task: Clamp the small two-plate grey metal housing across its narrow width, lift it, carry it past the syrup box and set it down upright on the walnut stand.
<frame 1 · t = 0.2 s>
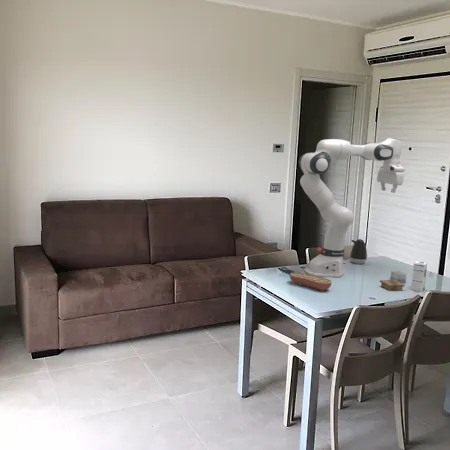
hand: (388, 191, 285), 47 cm above the table, tool pointing down, fingers open, 8 cm apart
black kettle: (357, 263, 312), on the table
bread loaf: (310, 287, 257), on the table
stand: (391, 288, 261), on the table
syrup box: (417, 289, 262), on the table
housing: (397, 281, 275), on the table
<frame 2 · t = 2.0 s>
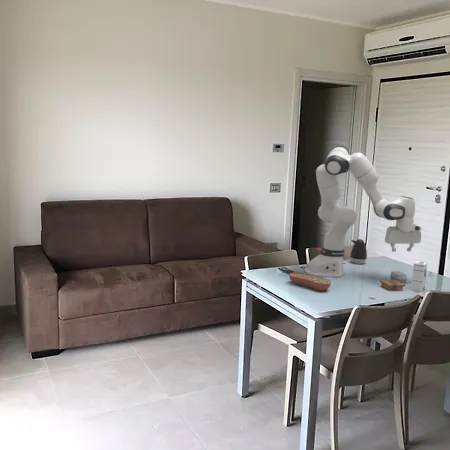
hand: (401, 251, 271), 17 cm above the table, tool pointing down, fingers open, 8 cm apart
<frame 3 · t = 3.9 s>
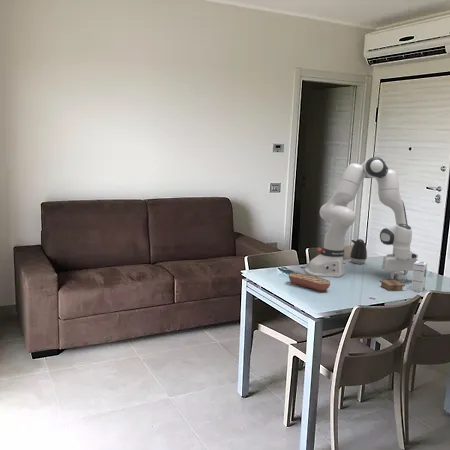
hand: (398, 278, 274), 2 cm above the table, tool pointing down, fingers closed on housing, 5 cm apart
housing: (397, 281, 274), on the table, touching gripper
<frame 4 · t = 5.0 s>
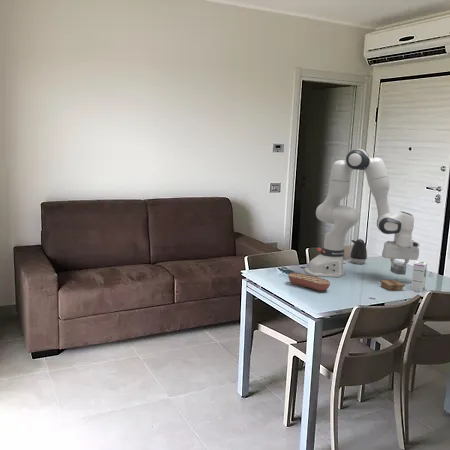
hand: (398, 266, 272), 9 cm above the table, tool pointing down, fingers closed on housing, 5 cm apart
housing: (397, 273, 272), point 5 cm above the table, touching gripper
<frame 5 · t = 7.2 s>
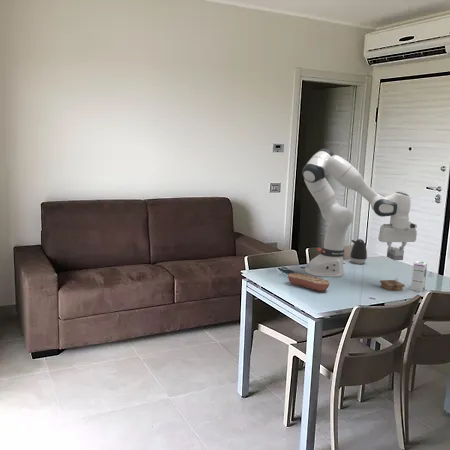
hand: (395, 250, 258), 20 cm above the table, tool pointing down, fingers closed on housing, 5 cm apart
housing: (394, 258, 259), point 16 cm above the table, touching gripper
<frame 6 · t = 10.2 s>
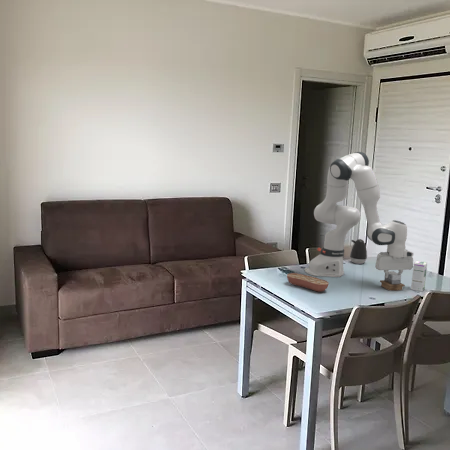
hand: (392, 277, 260), 6 cm above the table, tool pointing down, fingers closed on housing, 5 cm apart
housing: (392, 282, 261), point 3 cm above the table, touching gripper, stand
when the fingers open (6 cm above the table, at t = 10.2 s): housing stays where it is, resting on stand.
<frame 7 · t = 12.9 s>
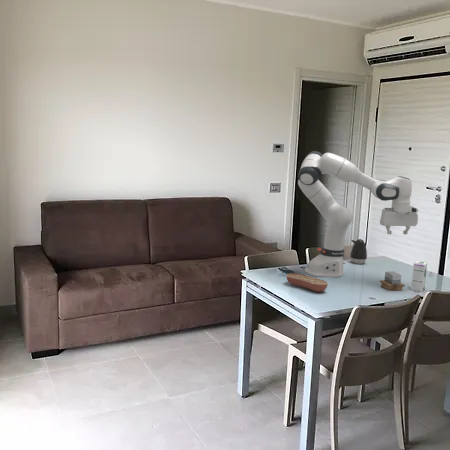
hand: (397, 234, 261), 28 cm above the table, tool pointing down, fingers open, 8 cm apart
housing: (392, 282, 261), point 3 cm above the table, touching stand
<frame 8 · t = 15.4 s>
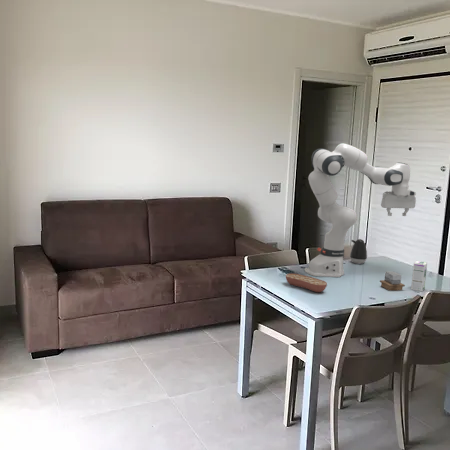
hand: (396, 215, 284), 34 cm above the table, tool pointing down, fingers open, 8 cm apart
at the end: housing inside the target area on the stand (0.1 cm from its centre), point 3.0 cm above the stand's base; housing tilted 0°; the gripper is holding nothing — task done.
